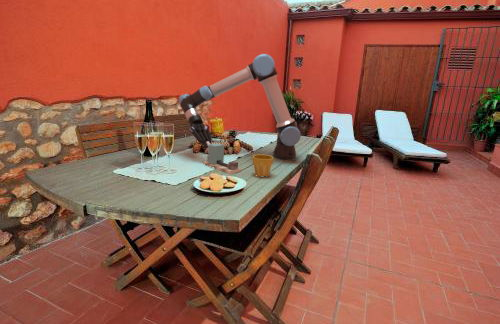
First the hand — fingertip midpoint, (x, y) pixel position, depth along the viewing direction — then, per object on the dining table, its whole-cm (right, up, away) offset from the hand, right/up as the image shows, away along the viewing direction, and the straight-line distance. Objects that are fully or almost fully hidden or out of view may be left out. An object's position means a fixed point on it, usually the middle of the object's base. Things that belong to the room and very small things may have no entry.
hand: (211, 152), depth 155 cm
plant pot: (+27, -12, -13) cm, 32 cm away
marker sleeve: (+3, -5, -1) cm, 6 cm away
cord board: (+6, -8, -4) cm, 11 cm away
